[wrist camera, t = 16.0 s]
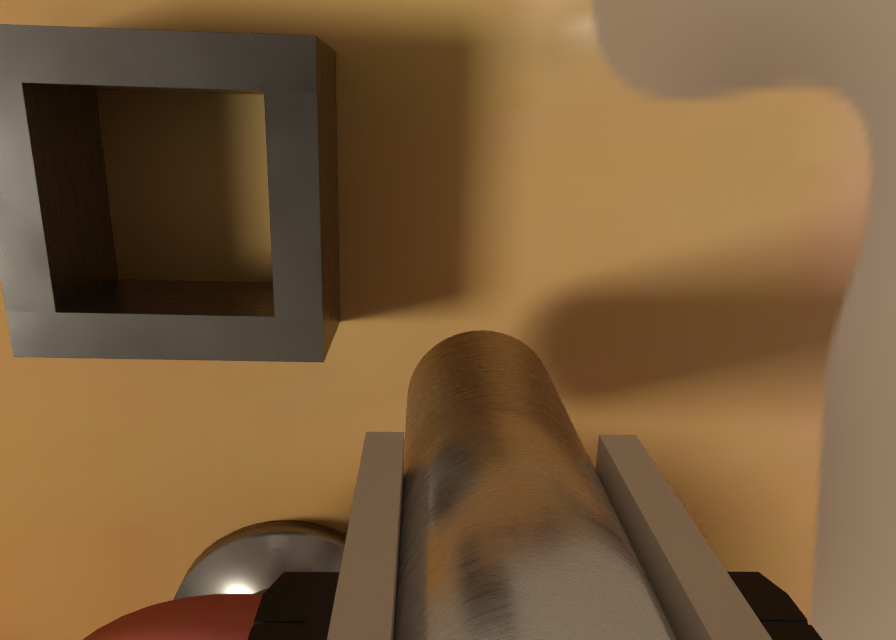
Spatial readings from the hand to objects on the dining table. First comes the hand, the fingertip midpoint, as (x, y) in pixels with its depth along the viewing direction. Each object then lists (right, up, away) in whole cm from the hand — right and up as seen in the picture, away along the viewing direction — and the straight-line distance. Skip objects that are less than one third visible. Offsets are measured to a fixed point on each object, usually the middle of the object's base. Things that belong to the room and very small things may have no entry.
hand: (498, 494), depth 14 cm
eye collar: (-8, +7, +6) cm, 12 cm away
